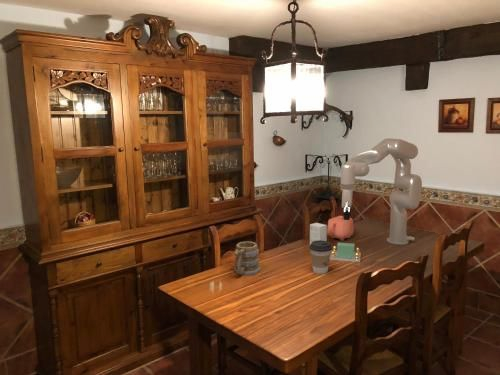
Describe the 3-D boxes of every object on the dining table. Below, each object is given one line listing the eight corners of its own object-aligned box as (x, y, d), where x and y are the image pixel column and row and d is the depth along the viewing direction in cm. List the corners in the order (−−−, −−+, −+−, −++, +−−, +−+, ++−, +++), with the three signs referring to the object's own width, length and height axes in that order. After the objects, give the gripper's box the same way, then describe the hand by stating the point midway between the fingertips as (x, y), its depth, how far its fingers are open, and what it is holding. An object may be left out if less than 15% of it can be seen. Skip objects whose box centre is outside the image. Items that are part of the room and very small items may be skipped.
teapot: (341, 231, 279) (342, 211, 276) (358, 235, 270) (359, 214, 267) (322, 239, 263) (322, 217, 261) (339, 243, 255) (340, 221, 252)
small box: (326, 246, 251) (327, 225, 248) (319, 248, 247) (319, 227, 244) (316, 242, 257) (316, 222, 255) (309, 245, 253) (309, 224, 251)
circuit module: (354, 254, 233) (354, 243, 232) (353, 257, 228) (354, 246, 227) (337, 252, 236) (338, 242, 234) (336, 255, 231) (337, 245, 230)
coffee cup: (323, 277, 205) (324, 248, 202) (304, 272, 212) (304, 243, 209) (336, 270, 213) (336, 242, 210) (317, 265, 220) (317, 238, 218)
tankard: (241, 264, 224) (241, 237, 221) (263, 268, 218) (263, 240, 215) (223, 278, 206) (222, 249, 203) (246, 282, 201) (245, 252, 198)
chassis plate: (360, 254, 236) (360, 247, 235) (360, 262, 224) (360, 254, 224) (331, 252, 240) (331, 245, 239) (329, 259, 229) (329, 252, 228)
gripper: (341, 183, 234) (341, 213, 238) (339, 189, 218) (338, 221, 221) (355, 183, 232) (354, 213, 236) (354, 190, 216) (353, 222, 219)
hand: (347, 217), depth 229 cm, fingers open, 9 cm apart
